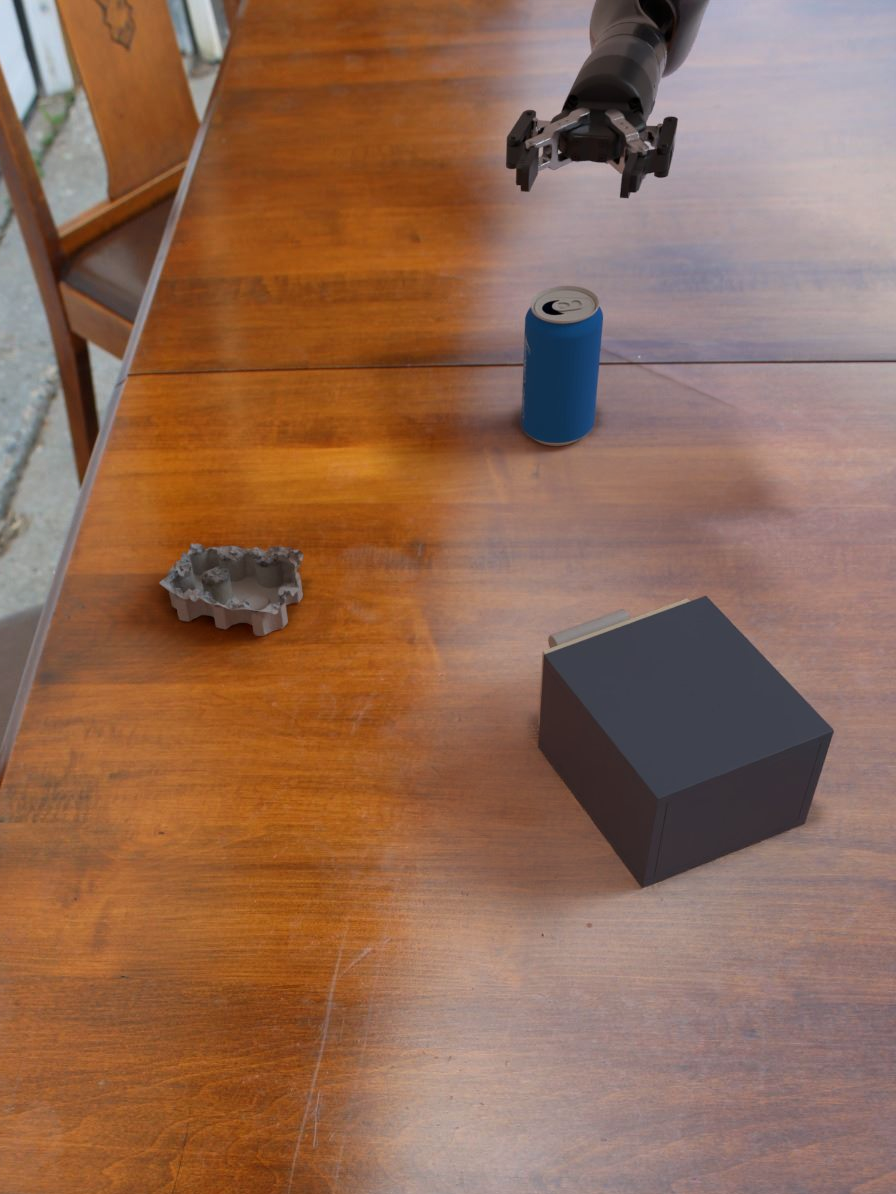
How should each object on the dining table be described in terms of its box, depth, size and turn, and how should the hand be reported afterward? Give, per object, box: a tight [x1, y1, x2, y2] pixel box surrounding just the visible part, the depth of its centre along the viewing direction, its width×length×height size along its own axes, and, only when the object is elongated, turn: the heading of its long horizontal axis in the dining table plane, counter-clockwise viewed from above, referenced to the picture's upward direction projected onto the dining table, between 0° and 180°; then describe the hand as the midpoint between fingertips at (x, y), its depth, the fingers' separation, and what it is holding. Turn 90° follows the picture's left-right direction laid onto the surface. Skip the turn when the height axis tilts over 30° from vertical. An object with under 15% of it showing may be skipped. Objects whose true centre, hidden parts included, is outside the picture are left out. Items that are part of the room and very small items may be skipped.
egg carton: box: [159, 542, 305, 637], centre depth 109 cm, size 11×8×4 cm
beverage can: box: [520, 285, 604, 447], centre depth 115 cm, size 6×6×12 cm
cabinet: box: [537, 595, 835, 889], centre depth 90 cm, size 15×13×9 cm
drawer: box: [537, 598, 690, 727], centre depth 92 cm, size 17×11×7 cm, turn 22°
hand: (574, 184), depth 113 cm, fingers open, 8 cm apart
